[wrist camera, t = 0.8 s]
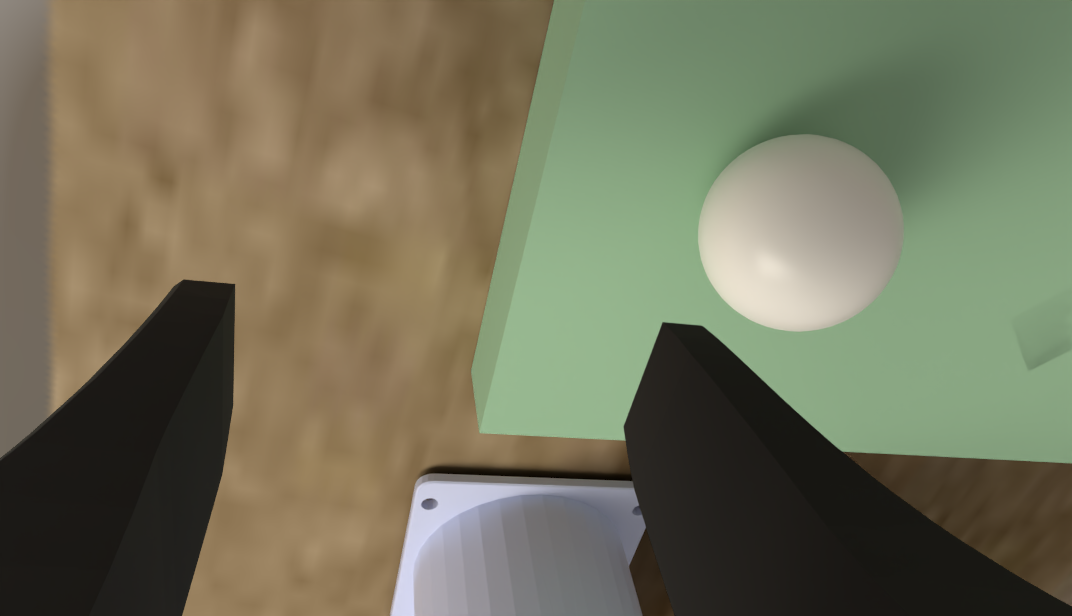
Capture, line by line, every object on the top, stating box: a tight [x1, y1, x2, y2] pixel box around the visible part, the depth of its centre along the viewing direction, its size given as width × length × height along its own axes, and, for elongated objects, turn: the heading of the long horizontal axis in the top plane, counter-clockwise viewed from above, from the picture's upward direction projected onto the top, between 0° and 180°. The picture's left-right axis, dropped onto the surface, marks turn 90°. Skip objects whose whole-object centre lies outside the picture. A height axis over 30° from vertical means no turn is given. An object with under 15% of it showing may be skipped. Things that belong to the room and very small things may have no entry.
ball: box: [698, 134, 904, 332], centre depth 17 cm, size 4×4×4 cm
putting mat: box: [471, 0, 1072, 463], centre depth 22 cm, size 16×24×2 cm, turn 78°
